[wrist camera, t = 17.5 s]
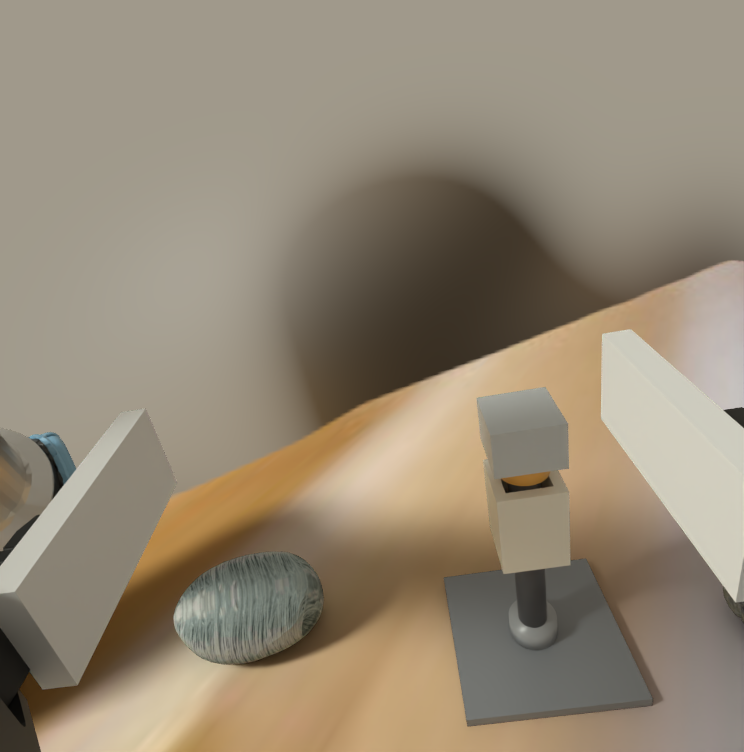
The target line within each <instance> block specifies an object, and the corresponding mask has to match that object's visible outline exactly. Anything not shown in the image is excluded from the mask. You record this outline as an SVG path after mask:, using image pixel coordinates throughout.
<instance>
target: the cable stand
mask: <svg viewBox="0 0 744 752" xmlns="http://www.w3.org/2000/svg"><path fill="white" fill-rule="evenodd" d="M477 408H478V417H479V427H480V436H481V441H482V444H483V447H484V450H485V453H486V456H487V459H488V462H489V465H490V468H491V471H492V474H493V477H494V479H500V478H501V479H502V480H503V481H505V482H507V485H508V493H511V492H518V491H525V490H532V489H539V488H541V482H543V481H544V480H545V479H547V478H548V476H549V474H550V471H555V470H562V469H569V454H568V423H567V421H566V420H565V418H564V416H563V415H562V413H561V412H560V410H559V408H558V407H557V405H556V404H555V402H554V400H553V399H552V397H551V395H550V394H549V392H548V391H547V389H546V387H542V388H536V389H530V390H523V391H517V392H511V393H504V394H498V395H492V396H485V397H479V398H477ZM444 582H445V589H446V595H447V601H448V607H449V614H450V620H451V626H452V632H453V639H454V645H455V651H456V657H457V664H458V670H459V676H460V682H461V689H462V695H463V701H464V707H465V714H466V720H467V726H476V725H485V724H493V723H502V722H511V721H520V720H528V719H537V718H546V717H555V716H564V715H572V714H581V713H590V712H599V711H608V710H616V709H625V708H634V707H643V706H652V702H653V698H652V696H651V694H650V692H649V690H648V688H647V686H646V684H645V682H644V679H643V677H642V675H641V673H640V671H639V669H638V667H637V665H636V663H635V660H634V658H633V656H632V654H631V652H630V650H629V648H628V646H627V644H626V642H625V639H624V637H623V635H622V633H621V631H620V629H619V627H618V625H617V623H616V621H615V618H614V616H613V614H612V612H611V610H610V608H609V606H608V604H607V602H606V600H605V597H604V595H603V593H602V591H601V589H600V587H599V585H598V583H597V581H596V579H595V576H594V574H593V572H592V570H591V568H590V566H589V564H588V562H587V560H586V559H578V560H571V561H570V565H568V566H561V567H553V568H546V569H538V570H531V571H523V572H516V573H508V574H503V571H502V570H496V571H489V572H482V573H474V574H467V575H459V576H452V577H444Z"/></svg>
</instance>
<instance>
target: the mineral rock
mask: <svg viewBox="0 0 744 752" xmlns="http://www.w3.org/2000/svg"><path fill="white" fill-rule="evenodd" d="M723 592H724V597H725V599H726V601H727V603H728V605H729V607H730V608H731V610H732V611H733V612H734V613H735V615H737V616H738V617H740V618H741V619H742V621H743V623H744V602H735V601H734V600H733V598H732V597H731V596H730V594H729V593H728V591H727V590H726V589H725V587H724V586H723Z"/></svg>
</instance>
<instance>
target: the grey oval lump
mask: <svg viewBox="0 0 744 752" xmlns="http://www.w3.org/2000/svg"><path fill="white" fill-rule="evenodd" d="M323 602H324V597H323V590H322V585H321V582H320V579H319V577H318V575H317V574H316V572H315V571H314V569H313V568H312V567H311V566H310V565H309V564H308V563H307V562H306V561H305V560H304V559H302V558H301V557H299V556H297V555H294V554H291V553H288V552H273V551H272V552H263V553H256V554H250V555H245V556H241V557H238V558H235V559H232V560H229V561H226V562H223V563H221V564H219V565H217V566H215V567H213V568H211V569H209V570H208V571H206V572H205V573H203V574H202V575H200V576H199V577H198V578H197V579H196V580H195V581H194V582H193V583H192V584H191V585H190V586H189V587H188V588H187V589H186V590H185V592H184V593H183V595H182V596H181V598H180V600H179V602H178V604H177V606H176V609H175V613H174V617H173V619H174V626H175V629H176V631H177V633H178V635H179V637H180V638H181V639H182V641H183V642H184V643H185V645H186V646H187V647H188V648H189V649H190V650H192V651H193V652H194V653H195V654H196V655H198V656H199V657H201V658H202V659H205V660H208V661H210V662H213V663H218V664H243V663H248V662H253V661H257V660H259V659H262V658H265V657H267V656H270V655H273V654H275V653H278V652H280V651H283V650H285V649H287V648H288V647H290V646H292V645H293V644H295V643H296V642H298V641H299V640H301V639H302V638H303V637H304V636H305V635H307V634H308V633H309V632H310V630H311V629H312V628H313V627H314V625H315V624H316V622H317V621H318V619H319V617H320V615H321V612H322V609H323Z"/></svg>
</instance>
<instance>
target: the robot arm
mask: <svg viewBox="0 0 744 752" xmlns="http://www.w3.org/2000/svg"><path fill="white" fill-rule="evenodd" d="M601 419H602V421H603V422H604V423H605V425H606V426H607V427H608V429H609V430H610V432H611V433H612V434H613V436H614V437H615V438H616V440H617V441H618V442H619V444H620V445H621V447H622V448H623V449H624V451H625V452H626V453H627V455H628V456H629V457H630V459H631V460H632V462H633V463H634V464H635V466H636V467H637V468H638V470H639V471H640V473H641V474H642V475H643V477H644V478H645V479H646V481H647V482H648V483H649V485H650V486H651V488H652V489H653V490H654V492H655V493H656V494H657V496H658V497H659V499H660V500H661V501H662V503H663V504H664V505H665V507H666V508H667V509H668V511H669V512H670V514H671V515H672V516H673V518H674V519H675V520H676V522H677V523H678V524H679V526H680V527H681V529H682V530H683V531H684V533H685V534H686V535H687V537H688V538H689V540H690V541H691V542H692V544H693V545H694V546H695V548H696V549H697V550H698V552H699V553H700V555H701V556H702V557H703V559H704V560H705V561H706V563H707V564H708V566H709V567H710V568H711V570H712V571H713V572H714V574H715V575H716V576H717V578H718V579H719V581H720V582H721V583H722V585H723V586H724V587H725V589H726V590H727V591H728V593H729V594H730V596H731V597H732V598H733V600H734V601H735V602H744V408H742V407H741V408H734V409H727V410H722V409H721V408H720V407H719V406H718V405H717V404H716V403H714V402H713V401H712V400H711V399H710V398H709V397H708V396H706V395H705V394H704V393H703V392H702V391H701V390H700V389H698V388H697V387H696V386H695V385H694V384H693V383H692V382H690V381H689V380H688V379H687V378H686V377H685V376H684V375H682V374H681V373H680V372H679V371H678V370H677V369H676V368H674V367H673V366H672V365H671V364H670V363H669V362H668V361H666V360H665V359H664V358H663V357H662V356H661V355H660V354H658V353H657V352H656V351H655V350H654V349H653V348H652V347H650V346H649V345H648V344H647V343H646V342H645V341H644V340H642V339H641V338H640V337H639V336H638V335H637V334H635V333H634V332H633V331H632V330H631V329H629V330H623V331H617V332H611V333H605V334H602V383H601ZM176 485H177V481H176V478H175V476H174V474H173V471H172V469H171V466H170V464H169V462H168V460H167V457H166V455H165V452H164V450H163V448H162V445H161V443H160V441H159V438H158V436H157V434H156V431H155V429H154V426H153V424H152V422H151V419H150V417H149V415H148V412H147V410H146V409H139V410H133V411H127V412H121V413H120V414H119V416H118V417H117V418H116V419H115V421H114V422H113V423H112V425H111V426H110V427H109V428H108V430H107V431H106V432H105V433H104V435H103V436H102V437H101V439H100V440H99V441H98V442H97V444H96V445H95V446H94V447H93V449H92V450H91V451H90V453H89V454H88V455H87V456H86V458H85V459H84V460H83V461H82V463H81V464H80V465H79V466H78V468H77V469H76V467H75V465H74V463H73V460H72V458H71V456H70V454H69V452H68V450H67V448H66V446H65V444H64V442H63V441H62V440H61V439H60V437H59V436H58V435H57V434H56V433H52V432H47V433H44V434H41V435H38V434H35V435H32V436H30V437H26V436H24V435H22V434H20V433H17V432H15V431H12V430H8V429H3V428H0V752H41V750H40V747H39V743H38V739H37V735H36V732H35V728H34V724H33V721H32V717H31V713H30V709H29V706H28V702H27V699H26V698H25V697H24V695H23V694H22V693H21V691H20V690H19V688H20V687H21V685H22V683H23V682H24V680H25V678H26V676H27V675H28V673H29V672H30V673H31V674H32V676H33V677H34V678H35V680H36V681H37V683H38V684H39V685H40V687H41V688H42V690H44V689H52V688H60V687H68V686H76V685H78V683H79V681H80V679H81V677H82V675H83V673H84V671H85V669H86V667H87V665H88V663H89V661H90V659H91V657H92V655H93V653H94V651H95V649H96V647H97V645H98V643H99V641H100V639H101V637H102V635H103V633H104V631H105V629H106V627H107V625H108V623H109V621H110V619H111V617H112V615H113V613H114V611H115V609H116V607H117V604H118V602H119V600H120V598H121V596H122V594H123V592H124V590H125V588H126V586H127V584H128V582H129V580H130V578H131V576H132V574H133V572H134V570H135V568H136V566H137V564H138V562H139V560H140V558H141V556H142V554H143V552H144V550H145V548H146V546H147V544H148V542H149V540H150V538H151V536H152V534H153V532H154V530H155V528H156V525H157V523H158V521H159V519H160V517H161V515H162V513H163V511H164V509H165V507H166V505H167V503H168V501H169V499H170V497H171V495H172V493H173V491H174V489H175V487H176Z"/></svg>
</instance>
